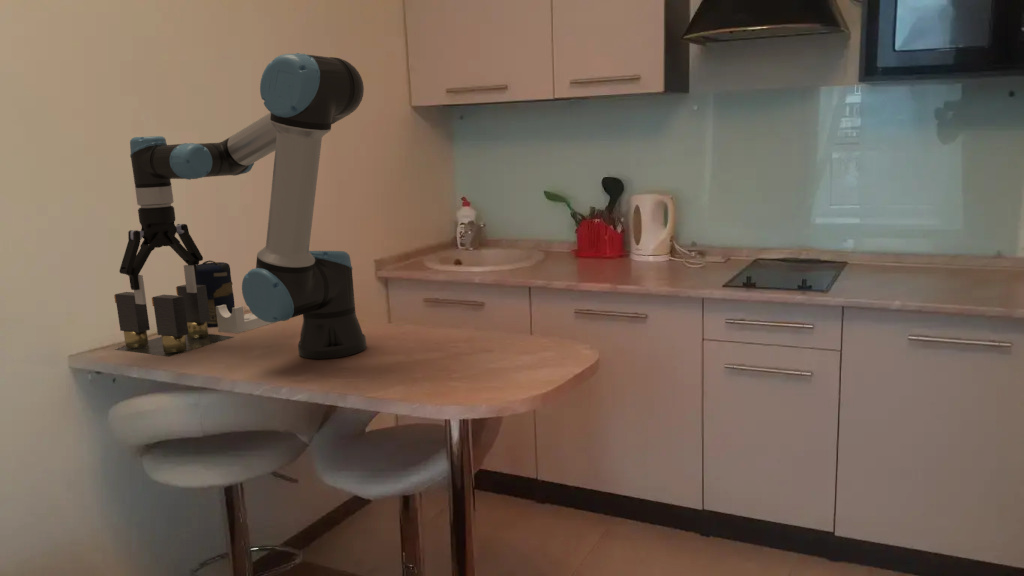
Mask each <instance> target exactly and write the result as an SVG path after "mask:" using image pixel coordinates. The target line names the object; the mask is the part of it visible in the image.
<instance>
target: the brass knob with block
mask: <svg viewBox="0 0 1024 576" xmlns="http://www.w3.org/2000/svg"><path fill="white" fill-rule="evenodd" d="M113 296H114V303H115V304H116V309H117V310H116V311H117V318H118V323H119V329H120V330H119V331H120V332H121V331H122V332H123V336H124V344H125V346H126V347H127V348H135V347H141V346H145V345H148V340H149V337H148V332H147V331H150V330H151V328H150V322H149V314H148V307H147V303H146V304H136V302H135V295H134V291H132V292H131V291H124V292H119V293H114V294H113Z"/></svg>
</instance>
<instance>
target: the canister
mask: <svg viewBox="0 0 1024 576" xmlns="http://www.w3.org/2000/svg"><path fill="white" fill-rule="evenodd" d="M196 269H197V278H195V279H196V285H206V290H207V298H208V306H209V314H210V321H208V322H207V327H208V328H218V323H217V315H216V307H217V306H221V305H226V306H227V309H228V311H229V313H230V314H232V308H235V307H236V305H235V295H234V292H233V291H234V290H233V281H232V274H231V267H230V264H229V263H227V262H222V261H221V262H216V261H214V260H205V261H204V262H202V263H199V264H198V265H196Z"/></svg>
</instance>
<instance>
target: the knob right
mask: <svg viewBox="0 0 1024 576" xmlns="http://www.w3.org/2000/svg"><path fill="white" fill-rule="evenodd" d="M196 288H197V293H189V292H187V290H186V284H182V285H178V286H176V287H175V290H176V295H177V296H184V303H185V310H186V318H187V326H188V333H189V334H187V337H188V338H199V337H204V336H207V335H208V334H209V329H208V328H209V327H207V322H208V321H210V314H209V306H208V298H207V290H206V285H196Z"/></svg>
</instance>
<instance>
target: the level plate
mask: <svg viewBox="0 0 1024 576" xmlns="http://www.w3.org/2000/svg"><path fill="white" fill-rule="evenodd" d="M233 338H235V336H229V335H222V334H212V333H208V335H207V336H204V337H199V338H188V337H187V335H185V339H186V346H187V349H185V350H183V351H179V352H172V353H166V352H164V350H163V343H162V336H160V337H154V338H151V339H148V345H145V346H141V347H135V348H127V347H126V345H125V346H122V347H118V348H115V349H114V350H116V351H122V352H131V353H138V354H144V355H145V354H147V355H152V356H153V355H154V356H161V357H167V358H169V357H173V356H175V355H179V354H183V353H186V352H190V351H193V350H197V349H199V348H203V347H208V346H209V345H213V344H216V343H219V342H223V341H226V340H229V339H233Z"/></svg>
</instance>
